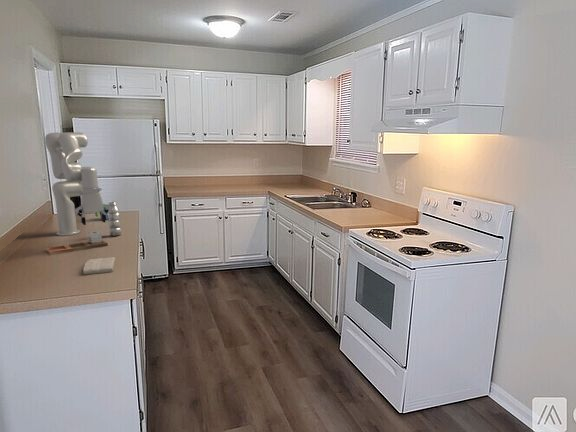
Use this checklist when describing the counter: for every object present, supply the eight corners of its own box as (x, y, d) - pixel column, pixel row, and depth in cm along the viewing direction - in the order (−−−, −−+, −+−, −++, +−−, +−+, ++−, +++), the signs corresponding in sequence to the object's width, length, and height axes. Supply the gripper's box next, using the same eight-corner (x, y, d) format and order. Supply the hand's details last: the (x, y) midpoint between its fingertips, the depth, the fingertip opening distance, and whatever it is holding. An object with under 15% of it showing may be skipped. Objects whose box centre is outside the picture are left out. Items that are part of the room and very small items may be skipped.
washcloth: (115, 261, 189) (115, 255, 189) (114, 273, 173) (113, 266, 172) (87, 264, 185) (87, 257, 185) (83, 276, 169) (82, 269, 168)
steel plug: (89, 245, 218) (88, 232, 216) (99, 243, 221) (98, 230, 219) (92, 247, 214) (90, 233, 213) (102, 245, 217) (101, 232, 216)
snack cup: (99, 222, 279) (98, 207, 277) (92, 220, 285) (91, 206, 284) (121, 218, 291) (119, 204, 289) (113, 217, 297) (112, 203, 295)
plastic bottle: (117, 237, 235) (114, 203, 231) (107, 236, 236) (103, 202, 233) (124, 234, 241) (121, 201, 238) (113, 234, 243) (110, 201, 239)
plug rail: (46, 250, 207) (45, 247, 207) (101, 241, 224) (101, 239, 224) (50, 255, 199) (49, 252, 199) (107, 245, 216) (107, 243, 216)
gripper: (106, 189, 220) (109, 220, 223) (70, 192, 209) (74, 224, 212) (110, 190, 214) (113, 222, 217) (74, 193, 204) (78, 226, 206)
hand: (94, 223), depth 215 cm, fingers open, 9 cm apart
